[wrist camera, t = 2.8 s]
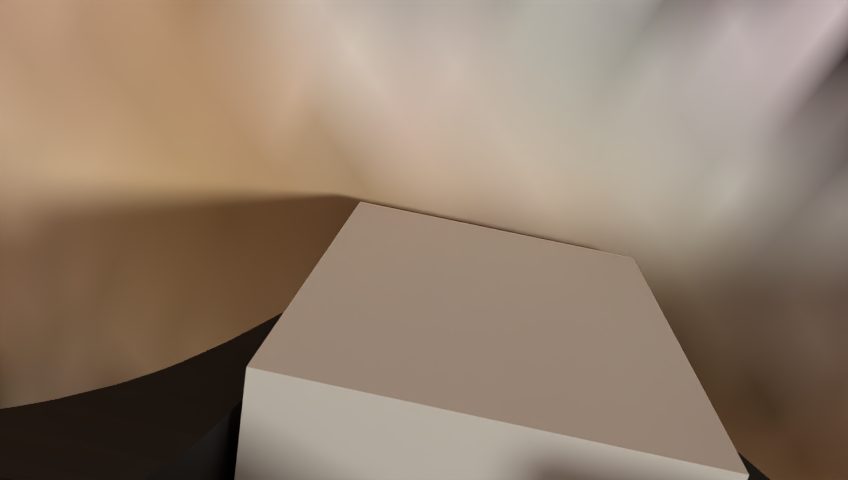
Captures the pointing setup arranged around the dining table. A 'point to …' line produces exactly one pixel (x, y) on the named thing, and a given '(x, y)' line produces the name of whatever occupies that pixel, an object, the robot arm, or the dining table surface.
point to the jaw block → (474, 365)
